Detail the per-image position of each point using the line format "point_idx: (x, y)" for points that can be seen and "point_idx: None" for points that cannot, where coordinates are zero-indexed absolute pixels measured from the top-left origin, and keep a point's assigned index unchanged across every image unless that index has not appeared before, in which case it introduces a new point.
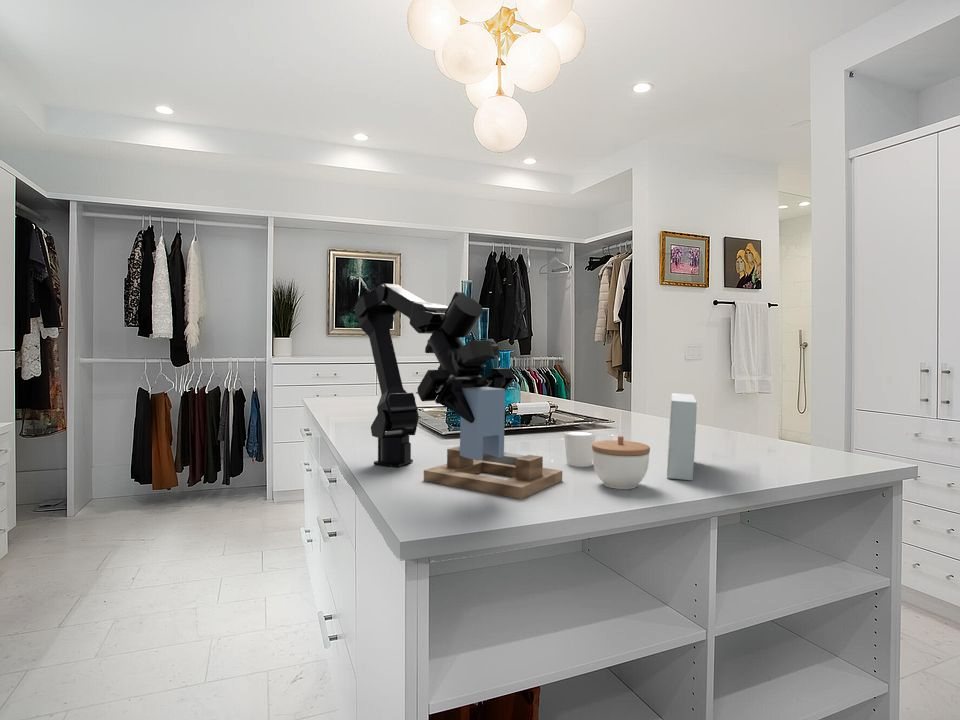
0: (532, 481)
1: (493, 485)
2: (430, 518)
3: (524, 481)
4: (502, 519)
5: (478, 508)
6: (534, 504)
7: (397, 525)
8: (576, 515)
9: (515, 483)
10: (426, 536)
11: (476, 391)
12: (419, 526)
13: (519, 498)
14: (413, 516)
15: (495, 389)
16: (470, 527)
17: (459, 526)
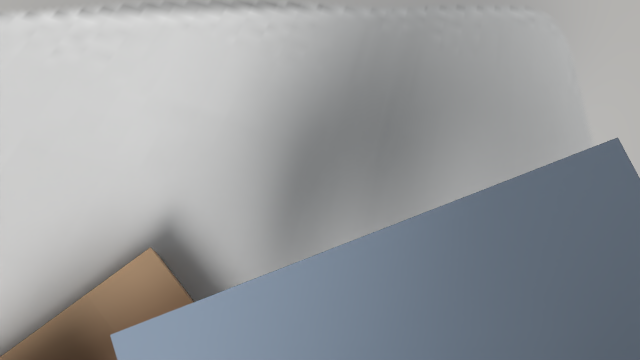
0: (52, 335)
1: None
2: (492, 137)
3: (90, 343)
4: (303, 69)
5: (341, 187)
6: (140, 177)
7: (573, 109)
8: (65, 31)
9: (147, 317)
10: (512, 17)
11: (623, 173)
12: (523, 85)
13: (161, 259)
14: (534, 167)
15: (324, 268)
16: (403, 38)
17: (429, 54)
